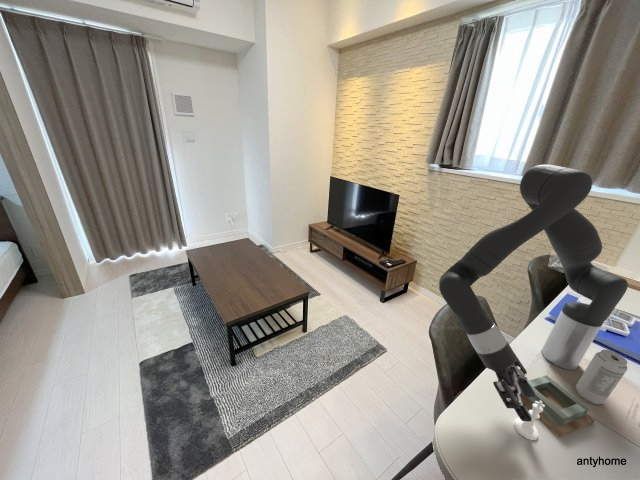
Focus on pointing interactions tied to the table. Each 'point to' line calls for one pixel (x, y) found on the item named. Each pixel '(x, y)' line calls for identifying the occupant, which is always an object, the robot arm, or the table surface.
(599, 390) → the energy drink can
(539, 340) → the table surface
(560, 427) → the socket board
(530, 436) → the chess piece
